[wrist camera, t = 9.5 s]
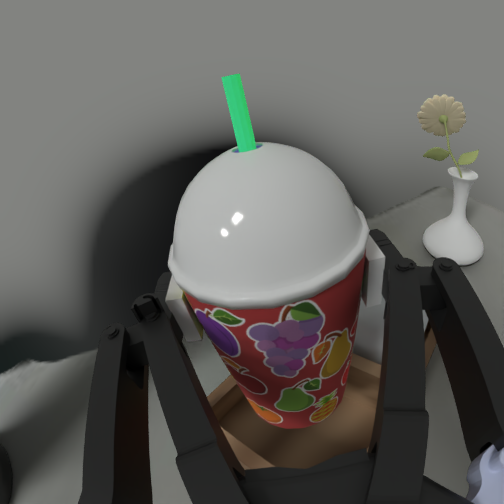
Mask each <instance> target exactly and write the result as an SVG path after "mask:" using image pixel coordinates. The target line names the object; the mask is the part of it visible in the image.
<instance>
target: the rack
mask: <svg viewBox="0 0 504 504" xmlns="http://www.w3.org/2000/svg"><path fill="white" fill-rule="evenodd" d="M424 339H425V370H426V367H427V365H428V363H429V360H430V358H431V356H432V353H433V351H434V348H435V346H436V343H437V341H436V339H435V336H434V333H433V330H432V328H431V325H430V322H429V320H428V323H427V326H426V329H425V332H424ZM380 373H381V365H380V364H377V363H375V362H373V361H370V360H368V359H366V358H363V357H361V356H359V355H356V354H354V353H352V358H351V363H350V368H349V373H348V378H347V383H346V388H345V392H344V395H343V398H342V401H341V403H340V404H339V405H338V407H337V408H336V409H335V411H334V412H333V413H332V414H331V415H330V416H328V417H327V418H325V419H324V420H322V421H321V422H320V423H317V424H314V425H311V426H308V427H305V428H293V429H285V428H282V427H278V426H275V425H271V424H269V423H268V422H266V421H265V420H263V419H262V418H261V417H259V416H258V415H257V413H256V412H255V410H254V409H253V407H252V406H251V404H250V403H249V401H248V400H247V398H246V397H245V395H244V394H243V392H242V391H241V389H240V387H239V386H238V384H237V383H236V381H235V380H234V378H233V376H232V375H230V376H229V377H228V378H227V379H226V380H225V381H224V382H222V383H221V384H220V385H219V386H218V387H217V388H216V389H215V390H214V391H213V392H212V393H211V394H210V395H209V396H208V397H207V399H208V401H209V403H210V405H211V408H212V410H213V412H214V414H215V416H216V418H217V420H218V422H219V424H220V426H221V428H222V430H223V432H224V434H225V436H226V438H227V440H228V442H229V444H230V446H231V448H232V450H233V451H234V453H235V455H236V457H237V459H238V461H239V462H240V464H241V465H242V467H243V468H244V469H245V470H246V469H257V468H267V467H285V468H300V469H307V468H310V467H313V466H315V465H317V464H319V463H322V462H324V461H326V460H328V459H330V458H332V457H335V456H337V455H340V454H345V453H349V452H352V451H356V450H360V449H363V448H366V450H367V452H368V448H369V444H370V441H371V437H372V431H373V426H374V419H375V413H376V406H377V399H378V391H379V383H380Z"/></svg>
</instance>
